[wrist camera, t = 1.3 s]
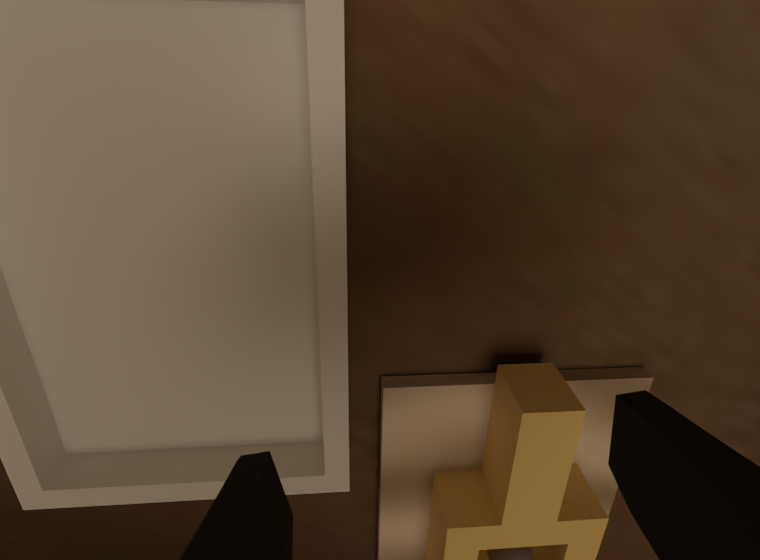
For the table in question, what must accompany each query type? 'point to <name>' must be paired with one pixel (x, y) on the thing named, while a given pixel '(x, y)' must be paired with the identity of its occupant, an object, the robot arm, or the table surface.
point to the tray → (171, 247)
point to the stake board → (473, 445)
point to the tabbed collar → (521, 478)
